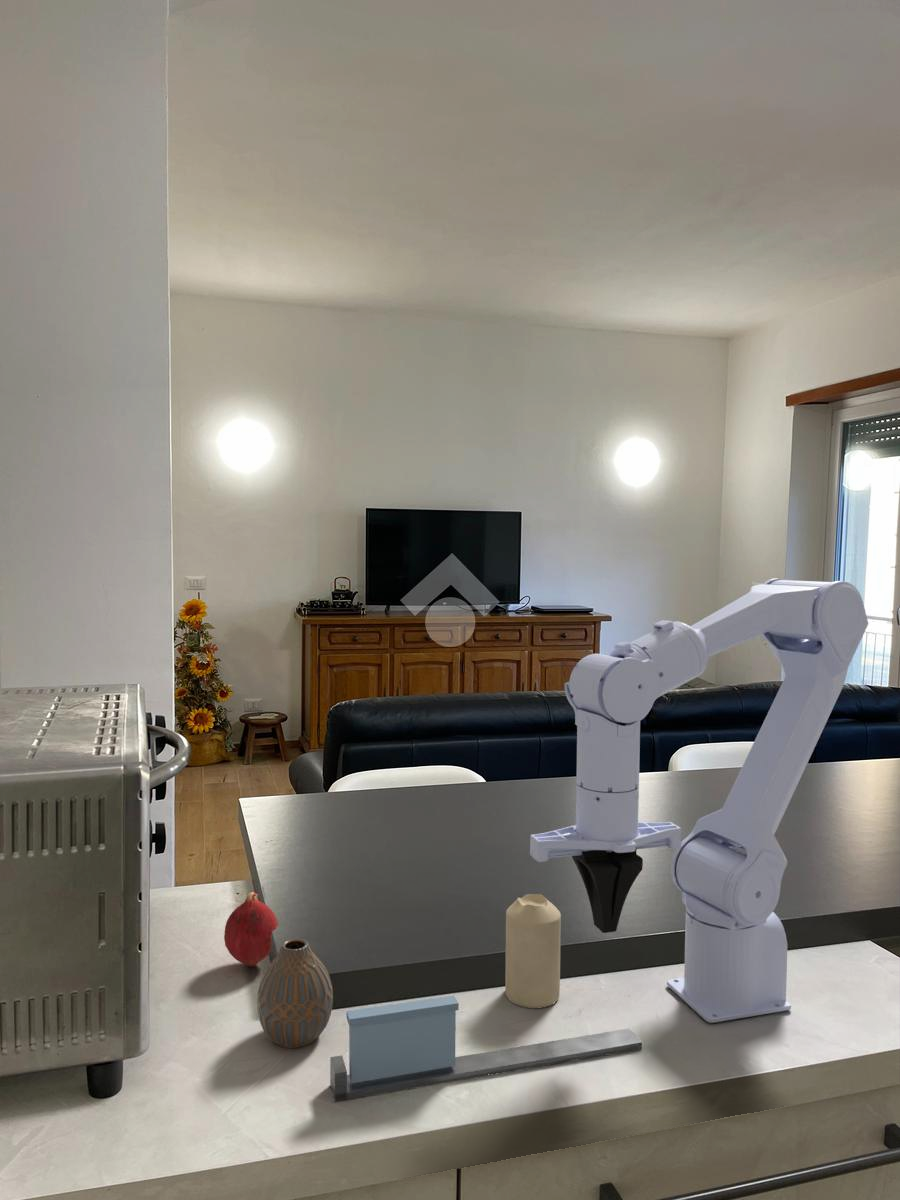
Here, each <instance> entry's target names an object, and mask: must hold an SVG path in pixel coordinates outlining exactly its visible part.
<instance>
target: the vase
mask: <svg viewBox="0 0 900 1200" xmlns="http://www.w3.org/2000/svg"><path fill="white" fill-rule="evenodd" d="M260 979H261V980H260V982H259V985H258V991H257V998H256V1005H257V1007H256V1008H257V1015H258V1019H259V1020H258V1021H259V1022H260V1026H261V1028H262V1030H263V1031H264V1034H265V1035H266V1036H267V1037H268V1038H269V1039H270V1040H271V1041H272V1042H273V1043H275V1044H276V1045H278V1046H280V1047H283V1048H288V1049H289V1048H290V1049H295V1048H302V1047H305V1046H307V1045H310V1044H311V1043H313V1042H314V1041H315V1040H317V1038H318V1037H320V1036H321V1034H322V1033H323V1032H324V1031H325V1029H326V1028H327V1025H328V1023H329V1022H330V1021H329V1020H330V1018H331V1014H332V1011H333V1005H334V1004H333V1002H334V994H333V993H334V991H333V984H332V981H331V978H330V974H329V971H328V969H327V968H326V966H325V964H323V962H322V961H321V960H320V958H319V957H318V956H317V955H316V954H315V953H314V952H313V950H312V949H311V946H310V944H309V942H308V941H307V940H306V939H303V938H293V939H287V940H286V941H284V942H283V943H282V945H281V946H280V949H279V952H278V953H277V954H276V956H275V957H274V959H273V960H272V961H271V962H270V964H269V965H268V966H267V968H266V969H265V970H264V973H263V975H262V976H261V978H260Z"/></svg>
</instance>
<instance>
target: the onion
mask: <svg viewBox="0 0 900 1200" xmlns="http://www.w3.org/2000/svg"><path fill="white" fill-rule="evenodd" d="M277 921H278V918H277V916H276V914H275V912H274V911H273V909H271V908H270V907H269V906H268V905H267V904H265V903H264V902H262V901H259V899H258V893H256V892H254V891H251V892H249V893H248V894H247V896H246V898H245V901H244V902H243V903H241V904H240V905H238V906H237V907H236V908H234V910H233V911H232V912H231V913H230V914H229V916H228V918H227V920H226V922H225V927H224V933H223V935H224V936H223V939H224V946H225V947H226V949H227V951H228V952H229V954H230V955H231V956H232V958H233V959H235V960H236V961H238V962H240V963H241V964H243V965H245V966H247V967H255V966H257V965H258V964H259V963H260V962H261V961H263V960H265V959H266V957H268V956H269V954H270V953H271V952H270V947H271V935H272V931H273V930H275V929H276V927H277V926H279V922H277Z"/></svg>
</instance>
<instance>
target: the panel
mask: <svg viewBox="0 0 900 1200" xmlns="http://www.w3.org/2000/svg"><path fill="white" fill-rule="evenodd" d="M456 1011H459V1001H458V1000H457V998H456V996H455V995H453V994H452V995H446V996H440V997H433V998H426V999H419V1000H413V1001H412V1000H411V1001H404V1002H398V1003H390V1004H384V1005H378V1006H377V1005H376V1006H370V1007H364V1008H363V1007H362V1008H357V1009H349V1010H346V1020H347V1024H348V1027H349V1028H348V1030H349V1031H348V1033H349V1034H348V1035H349V1037H348V1039H349V1040H348V1043H349V1044H348V1045H349V1049H348V1050H349V1051H348V1053H349V1055H348V1056H349V1057H348V1058H349V1059H348V1061H349V1068H348V1069H349V1074H348V1075H349V1077H350V1080H351V1083H356V1082H362V1081H368V1080H374V1079H380V1078H386V1077H392V1076H398V1075H404V1074H409V1073H415V1072H421V1071H427V1070H433V1069H439V1068H445V1067H451V1066H455V1057H456V1022H457V1021H456V1019H457V1018H456Z"/></svg>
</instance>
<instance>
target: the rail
mask: <svg viewBox="0 0 900 1200" xmlns="http://www.w3.org/2000/svg"><path fill="white" fill-rule="evenodd" d="M642 1049H643V1041H641V1039H640V1038H639V1037H638V1036H637V1035H636V1034H635V1033H634V1031H633V1030H632V1029H631V1028H624V1029H623V1028H622V1029H618V1030H612V1031H607V1032H606V1031H605V1032H600V1033H593V1034H588V1035H581V1036H575V1037H569V1038H568V1037H567V1038H564V1039H563V1038H562V1039H558V1040H552V1041H545V1042H544V1041H543V1042H538V1043H533V1044H527V1045H521V1046H516V1047H509V1048H503V1049H497V1050H491V1051H490V1050H489V1051H485V1052H478V1053H473V1054H466V1055H461V1056H455V1066H451V1067H445V1068H439V1069H433V1070H427V1071H421V1072H415V1073H409V1074H404V1075H398V1076H392V1077H386V1078H380V1079H374V1080H368V1081H362V1082H356V1083H351V1080H350V1077H349V1074H348V1070H347V1068H346V1064H345V1063H346V1062H345V1060H344V1058H343V1057H344V1056H343V1055H336V1056H335V1055H334V1056H330V1061H329V1063H330V1064H329V1065H330V1071H329V1072H330V1073H329V1074H330V1076H329V1077H330V1079H329V1081H330V1088H331V1089H330V1090H331V1092H332V1096H333V1100H334V1102H335V1103H337V1102H343V1101H349V1100H354V1099H359V1098H365V1097H366V1098H367V1097H372V1096H377V1095H383V1094H389V1093H395V1092H401V1091H405V1090H406V1091H407V1090H412V1089H416V1088H424V1087H428V1086H433V1085H434V1086H435V1085H440V1084H441V1085H442V1084H446V1083H451V1082H458V1081H463V1080H468V1079H475V1077H476V1078H481V1076H482V1077H487V1076H492V1075H491V1074H493V1075H497V1074H496V1073H499V1074H503V1072H505V1073H510V1071H511V1072H515V1071H520V1070H521V1069H522V1070H527V1068H528V1069H532V1068H533V1069H534V1068H538V1067H543V1066H549V1065H555V1064H561V1063H567V1062H572V1061H573V1062H574V1061H579V1060H584V1059H590V1058H596V1057H602V1056H607V1055H614V1054H619V1053H624V1052H625V1053H627V1052H631V1051H637V1050H642ZM488 1074H489V1075H488Z"/></svg>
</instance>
